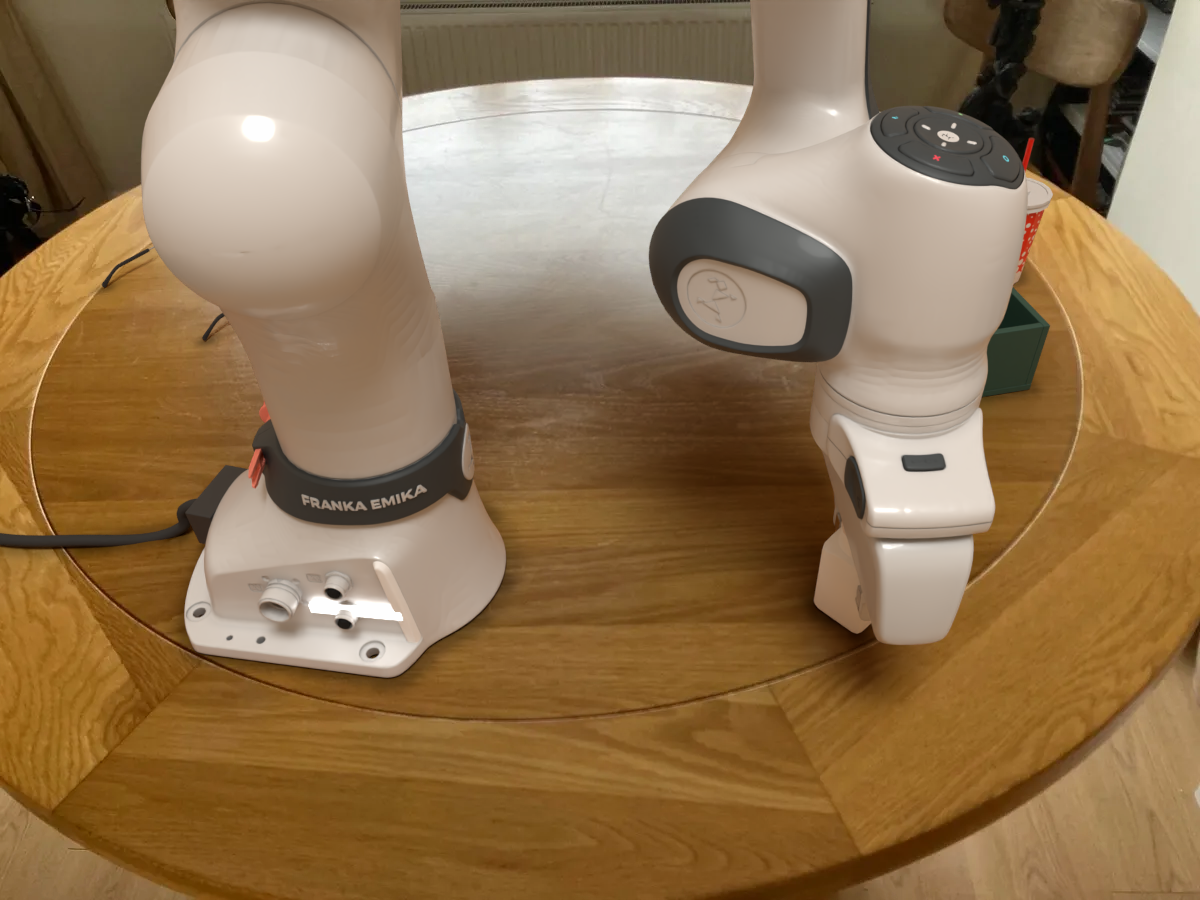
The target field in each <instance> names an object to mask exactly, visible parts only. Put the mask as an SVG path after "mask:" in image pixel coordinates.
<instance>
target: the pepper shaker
mask: <svg viewBox="0 0 1200 900" xmlns="http://www.w3.org/2000/svg"><path fill="white" fill-rule="evenodd" d="M816 578H817V579H816V585H815V589H814V590H815V591H814V596H813V603H814V605H815V606H816V607H817V609H818V610H820V611H821V612H823V613H824V614H825V615H827V616H828V617H830V618H831V619H832V620H833V621H835V622H837V623H838V624H840V625H841V626H842V627H843V628H845V629H847V630H848V631H850V632H851V633H853V634H855V635H858V634H860V633H862V632H863V631H865V630H866V629H868V627H869V626H870V625H872V624H871V621H863V620H861V619H860V617H859V613H858V609H857V605H856V601H855V597H856V596H857V587H858V585H860V582H859V578H858V575H857V571H856V568H855V564H854V561H853V557H852V554H851V550H850V547H849V543H848V540H847V536H846V533H845V530H844V526H843V523H842V522H841V528H839V529H838V530H837V531H836V530H835V532H833V534H831V536H829V537H828V538H827V540H825V541H824V543H823V546H822V549H821V554H820V560H819V567H818V572H817V577H816Z"/></svg>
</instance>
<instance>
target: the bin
mask: <svg viewBox="0 0 1200 900" xmlns="http://www.w3.org/2000/svg"><path fill="white" fill-rule="evenodd" d="M1050 328H1051V324H1050V323H1048V321H1047V320H1046V319H1045V318H1044V317H1043V316H1042V315H1041V314H1040V313H1039V312H1038V311H1037V310H1036V309H1035V308H1034V307H1033V306H1032V305H1031V304H1030V303H1029V302H1028V301H1027V299H1026V298H1025V297H1024V296H1022V295H1021V293H1019V291H1018V290H1017V289H1015V287H1014V286H1013V288H1012V292H1011V295H1010V299H1009V303H1008V306H1007V310H1006V313H1005V315H1004V318H1003V320H1002V322H1001V324H1000V326H999V327H998V329H997V330H996V331H995V333H994V334H993V336H992V337H991V339H990V341H989V344H988V346H987V360H988V374H987V380H986V384H985V387H984V390H983V394H982V398H984V397H990V396H996V395H1003V394H1009V393H1014V392H1021V391H1028V390H1030V389H1031V386H1032V383H1033V380H1034V378H1035V377H1034V376H1035V374H1036V371H1037V369H1038V368H1037V367H1038V364H1039V362H1040V359H1041V355H1042V352H1043V349H1044V346H1045V343H1046V341H1047V337H1048V334H1049V331H1050Z"/></svg>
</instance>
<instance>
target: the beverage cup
mask: <svg viewBox="0 0 1200 900" xmlns="http://www.w3.org/2000/svg"><path fill="white" fill-rule="evenodd" d="M1034 143H1035V138H1034V137H1029V138H1028V141H1027V144H1026V148H1025V150H1024V151H1025V152H1024V156H1023V159H1022V164H1023V166H1024V170H1025V173H1026V172H1027V168H1028V165H1029V161H1030V158H1031V153H1032V150H1033V146H1034ZM1026 179H1027V189H1028V205H1027V216H1026V224H1025V231H1024V237H1023V243H1022V248H1021V253H1020V258H1019V263H1018V268H1017V272H1016V276H1015V280H1014V284H1016V283H1018V282H1019V281H1020V278H1021V276H1022V273H1023V270H1024V267H1025V264H1026V262H1027V259H1028V257H1029V254H1030V251H1031V248H1032V246H1033V243H1034V240H1035V237H1036V234H1037V232H1038V229H1039V226H1040V223H1041V221H1042V218H1043V215H1044V212H1045V210H1046V209H1048V208H1049V206H1050V204H1051V200H1052V198H1053V196H1054V193H1053V191H1052V189H1051V187H1049V186H1048V185H1046V184H1045V183H1044V182H1042V181H1039V180H1037V179H1034V178H1031V177H1026Z"/></svg>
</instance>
